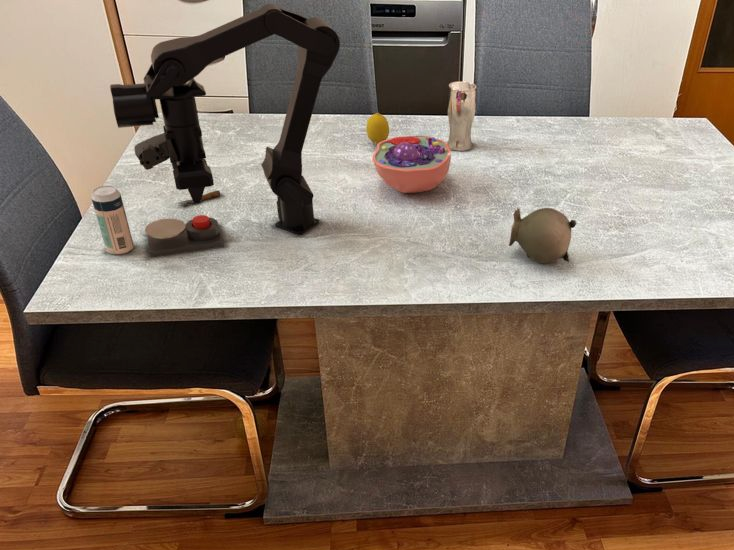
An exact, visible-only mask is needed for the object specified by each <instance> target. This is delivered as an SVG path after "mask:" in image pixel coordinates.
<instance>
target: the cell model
mask: <svg viewBox="0 0 734 550" xmlns="http://www.w3.org/2000/svg"><path fill="white" fill-rule="evenodd" d="M451 160H452V149H450V148H449V146H448V142H446V141H445V140H443V139H440V138H437V137H434V136H428V135H409V136H406V135H404V136H394V137H391V138H387V139H386V140H384V141H381V142H379V143H378V144H376V150H375V152H374V153H373V154H372V161H373V164H374V169H375V171H376V174H377V175H378V176H379V177H380V178H381V180H382V181H384V183H385V184H386V185H387V186H388V187H390V188H391V189H393V190H395V191H397V192H400V193H402V194H403V193H404V194H413V193H414V194H415V193H422V192H429V191H431V190H434V189H435V188H436V187H438V186H439V185H440V184H441V183H442V182H443V181H444V180H445V179H446V177H447V175H448V173H449V170H450V166H451Z"/></svg>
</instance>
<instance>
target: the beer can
mask: <svg viewBox="0 0 734 550" xmlns="http://www.w3.org/2000/svg"><path fill="white" fill-rule="evenodd" d="M90 199H91V201H92V206H93V209H94V213H95V217H96V220H97V224H98V227H99V230H100V233H101V237H102V241H103V243H104V247H105V250H106V252H107V253H109V254H112V255H123V254H127V253H129V252H131V251H132V250H133V249H134V247H135V245H134V244H135V243H134V240H133V237H132V233H131V228H130V226H129V225H130V224H129V221H128V217H127V213H126V210H125V206H124V202H123V197H122V195H121V192H120V191H119V190H118V188H116V187H115V186H113V185H102V186H101V185H100V186H98V187H96V188H94V189H92V193H91V197H90Z"/></svg>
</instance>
